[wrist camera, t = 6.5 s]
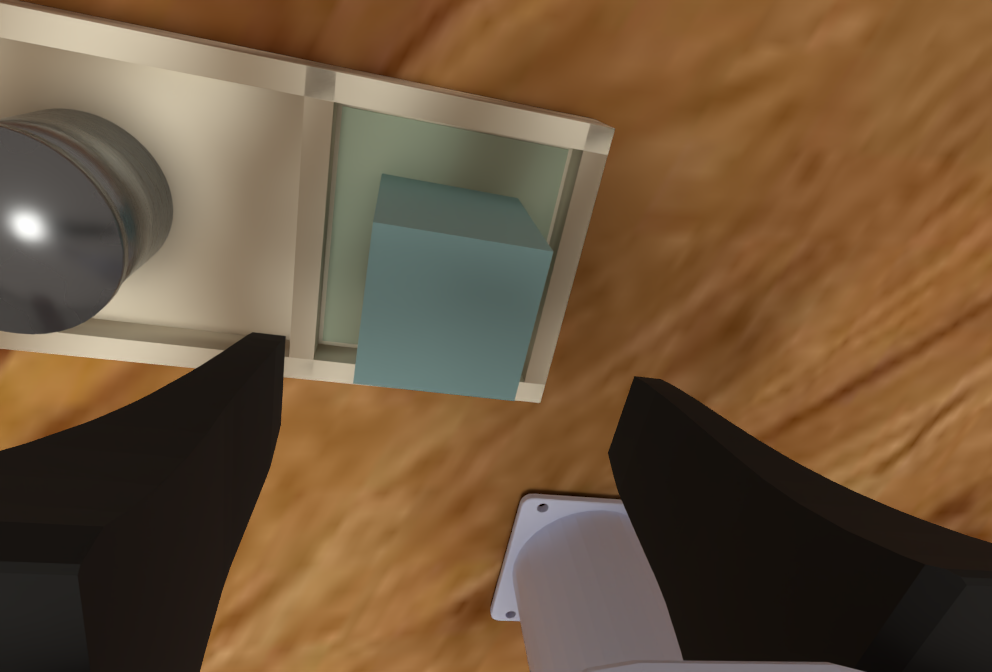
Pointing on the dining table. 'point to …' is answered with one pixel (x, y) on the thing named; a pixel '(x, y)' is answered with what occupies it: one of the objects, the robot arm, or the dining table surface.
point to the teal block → (449, 290)
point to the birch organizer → (285, 185)
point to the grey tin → (73, 216)
